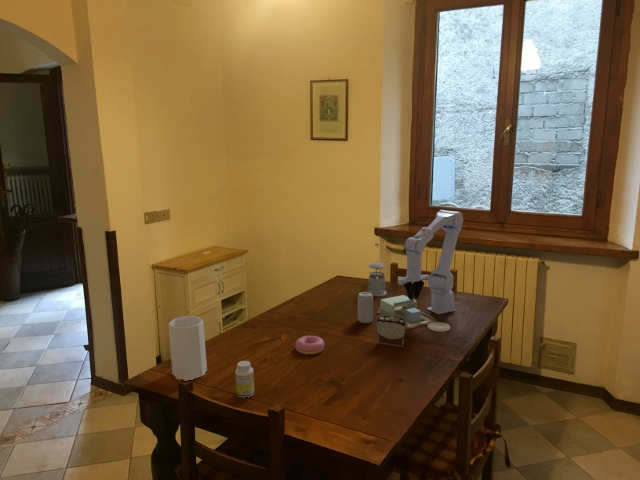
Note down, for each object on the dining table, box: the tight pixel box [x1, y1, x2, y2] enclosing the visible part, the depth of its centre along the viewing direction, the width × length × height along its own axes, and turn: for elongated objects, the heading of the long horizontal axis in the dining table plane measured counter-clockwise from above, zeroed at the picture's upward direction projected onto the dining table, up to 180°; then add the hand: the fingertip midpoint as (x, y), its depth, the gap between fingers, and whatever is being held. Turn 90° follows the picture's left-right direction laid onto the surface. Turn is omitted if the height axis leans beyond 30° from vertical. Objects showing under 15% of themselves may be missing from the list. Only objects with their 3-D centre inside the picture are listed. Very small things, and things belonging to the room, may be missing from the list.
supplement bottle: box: [234, 360, 256, 399], centre depth 159 cm, size 6×6×10 cm
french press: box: [367, 242, 388, 297], centre depth 252 cm, size 10×12×25 cm
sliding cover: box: [379, 294, 418, 314], centre depth 224 cm, size 12×10×6 cm
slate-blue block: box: [405, 308, 422, 324], centre depth 215 cm, size 4×4×5 cm
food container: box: [374, 314, 407, 348], centre depth 195 cm, size 12×6×10 cm, turn 65°
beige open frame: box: [376, 306, 437, 330], centre depth 220 cm, size 15×21×2 cm
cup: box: [168, 315, 208, 382], centre depth 172 cm, size 11×11×18 cm
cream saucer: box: [427, 321, 451, 333], centre depth 209 cm, size 9×9×1 cm
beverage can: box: [357, 291, 374, 324], centre depth 216 cm, size 6×6×12 cm
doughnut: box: [294, 334, 326, 355], centre depth 190 cm, size 11×11×4 cm
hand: (413, 298), depth 214 cm, fingers open, 2 cm apart
